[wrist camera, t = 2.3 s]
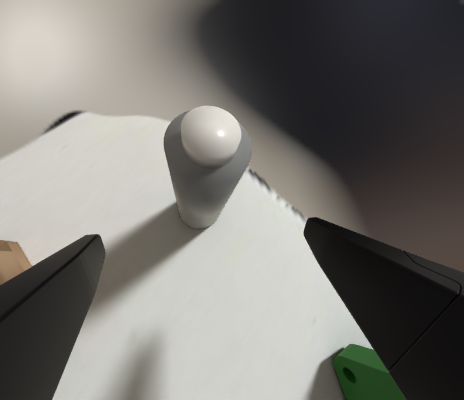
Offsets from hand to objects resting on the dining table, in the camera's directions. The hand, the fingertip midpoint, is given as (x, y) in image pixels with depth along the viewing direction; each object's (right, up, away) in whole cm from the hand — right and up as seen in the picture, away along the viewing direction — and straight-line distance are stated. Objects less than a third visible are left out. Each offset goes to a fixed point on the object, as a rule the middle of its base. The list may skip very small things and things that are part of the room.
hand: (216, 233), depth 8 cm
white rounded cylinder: (-3, 0, +11) cm, 12 cm away
